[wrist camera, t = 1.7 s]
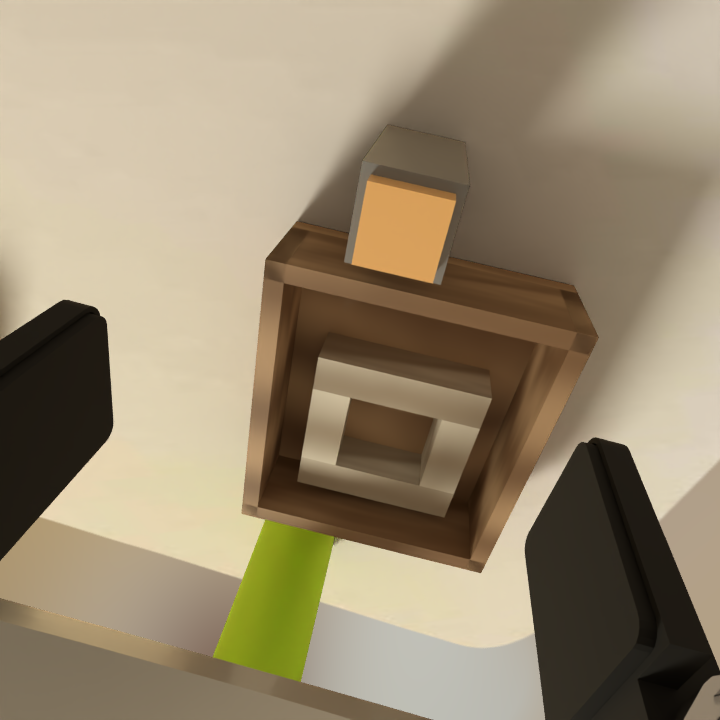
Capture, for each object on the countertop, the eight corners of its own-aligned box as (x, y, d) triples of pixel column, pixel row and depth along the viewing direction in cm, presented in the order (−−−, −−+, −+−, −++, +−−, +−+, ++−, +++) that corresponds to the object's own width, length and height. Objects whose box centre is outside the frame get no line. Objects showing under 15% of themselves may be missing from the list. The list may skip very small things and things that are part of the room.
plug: (387, 124, 27) (358, 166, 19) (465, 142, 27) (470, 192, 18) (372, 202, 29) (339, 271, 21) (443, 218, 29) (440, 295, 21)
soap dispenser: (241, 520, 44) (112, 819, 28) (307, 495, 42) (208, 809, 25) (283, 564, 47) (188, 864, 30) (348, 542, 44) (283, 860, 27)
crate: (296, 221, 30) (265, 259, 25) (573, 285, 30) (598, 337, 25) (268, 452, 40) (241, 513, 35) (477, 503, 40) (480, 573, 34)
